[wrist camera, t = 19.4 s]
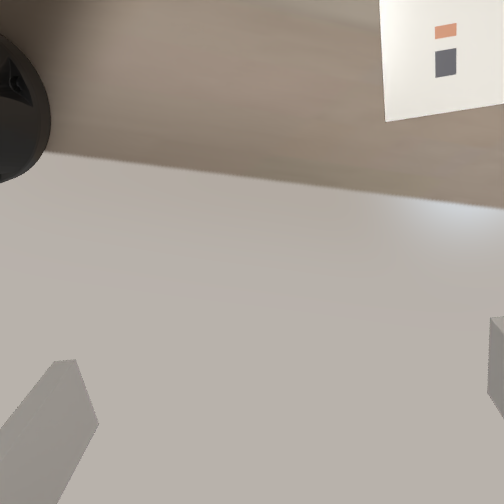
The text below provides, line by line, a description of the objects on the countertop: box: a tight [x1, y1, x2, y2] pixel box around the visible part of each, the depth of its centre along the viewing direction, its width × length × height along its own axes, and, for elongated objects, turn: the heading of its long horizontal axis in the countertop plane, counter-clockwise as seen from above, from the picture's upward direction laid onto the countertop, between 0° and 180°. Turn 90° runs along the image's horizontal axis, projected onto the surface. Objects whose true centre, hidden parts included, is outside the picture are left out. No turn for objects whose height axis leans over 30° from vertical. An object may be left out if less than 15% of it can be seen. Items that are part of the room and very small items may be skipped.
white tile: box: [379, 0, 504, 122], centre depth 39 cm, size 11×11×1 cm
